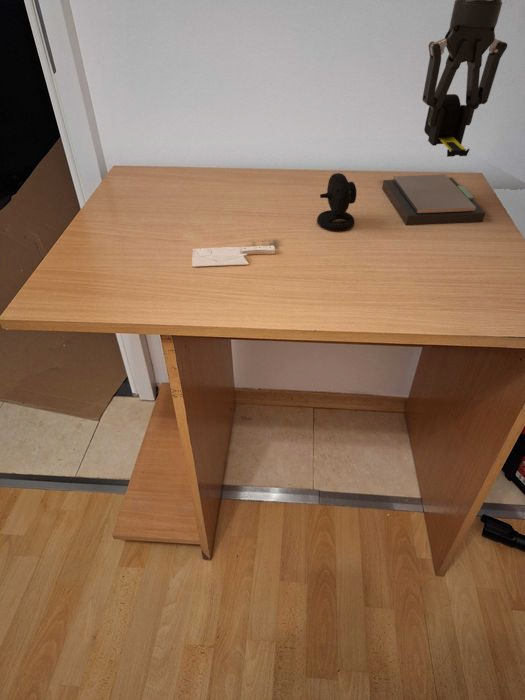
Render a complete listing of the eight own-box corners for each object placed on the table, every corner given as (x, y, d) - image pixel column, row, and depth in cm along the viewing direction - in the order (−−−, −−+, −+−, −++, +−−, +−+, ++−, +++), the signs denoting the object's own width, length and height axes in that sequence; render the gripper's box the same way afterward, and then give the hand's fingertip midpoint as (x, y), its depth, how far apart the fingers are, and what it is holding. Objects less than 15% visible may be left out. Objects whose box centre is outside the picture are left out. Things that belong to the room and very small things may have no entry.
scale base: (449, 186, 112) (452, 174, 110) (482, 221, 98) (486, 209, 96) (382, 188, 111) (383, 177, 109) (405, 225, 97) (408, 213, 96)
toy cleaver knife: (276, 263, 86) (276, 258, 85) (192, 267, 86) (191, 262, 85) (274, 249, 90) (274, 243, 89) (193, 252, 89) (192, 247, 89)
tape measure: (422, 132, 101) (431, 90, 96) (443, 131, 101) (452, 89, 96) (445, 157, 90) (456, 111, 85) (468, 156, 90) (480, 110, 85)
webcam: (360, 229, 96) (367, 180, 89) (324, 234, 94) (329, 184, 88) (345, 212, 101) (351, 165, 95) (311, 217, 100) (315, 168, 93)
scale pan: (444, 177, 110) (445, 174, 109) (475, 211, 97) (476, 207, 96) (392, 179, 109) (393, 176, 108) (416, 213, 96) (417, 209, 96)
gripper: (518, -6, 83) (478, 135, 99) (421, -5, 82) (396, 137, 98) (541, -1, 78) (495, 148, 93) (436, 0, 77) (407, 150, 92)
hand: (444, 142), depth 95 cm, fingers closed on tape measure, 4 cm apart
